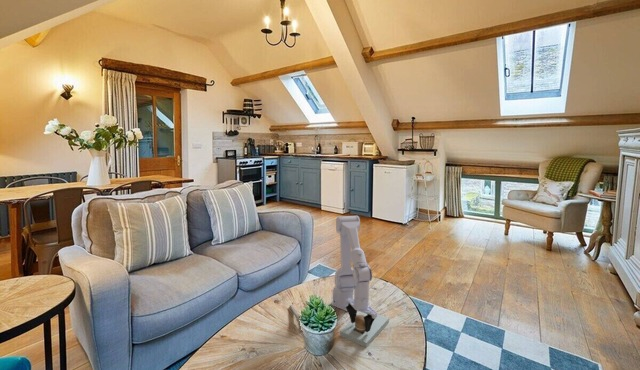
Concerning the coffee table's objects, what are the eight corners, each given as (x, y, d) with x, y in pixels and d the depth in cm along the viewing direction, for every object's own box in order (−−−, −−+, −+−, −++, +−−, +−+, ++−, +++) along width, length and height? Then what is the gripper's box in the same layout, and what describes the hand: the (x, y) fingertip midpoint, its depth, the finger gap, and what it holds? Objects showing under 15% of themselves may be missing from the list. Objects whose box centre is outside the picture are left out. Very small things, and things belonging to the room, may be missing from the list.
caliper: (302, 332, 128) (302, 318, 127) (300, 332, 128) (300, 318, 127) (291, 306, 147) (291, 294, 146) (289, 306, 147) (289, 294, 146)
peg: (352, 330, 129) (353, 315, 128) (363, 328, 130) (364, 314, 129) (357, 338, 124) (357, 322, 123) (368, 336, 125) (369, 320, 124)
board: (339, 335, 126) (340, 330, 125) (364, 312, 142) (364, 308, 141) (366, 347, 119) (366, 342, 118) (388, 322, 134) (388, 318, 134)
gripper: (382, 299, 121) (381, 330, 124) (354, 285, 132) (353, 314, 134) (370, 305, 117) (369, 338, 119) (343, 291, 127) (342, 321, 130)
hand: (360, 326), depth 126 cm, fingers open, 7 cm apart
